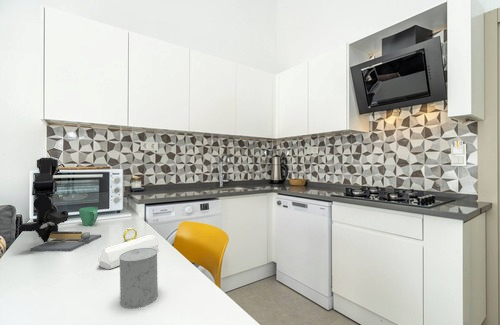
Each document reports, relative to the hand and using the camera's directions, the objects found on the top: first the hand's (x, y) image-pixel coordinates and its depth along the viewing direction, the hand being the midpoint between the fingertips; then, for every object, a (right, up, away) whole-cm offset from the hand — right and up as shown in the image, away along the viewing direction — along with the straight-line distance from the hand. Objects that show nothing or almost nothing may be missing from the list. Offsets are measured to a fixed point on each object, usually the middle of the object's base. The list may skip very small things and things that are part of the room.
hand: (45, 241), depth 111 cm
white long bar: (+44, -3, -13) cm, 46 cm away
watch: (+33, -3, +9) cm, 35 cm away
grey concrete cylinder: (+60, -2, -42) cm, 74 cm away
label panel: (+6, -3, +6) cm, 9 cm away
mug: (-5, -3, +40) cm, 40 cm away
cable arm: (+6, 0, +6) cm, 9 cm away
